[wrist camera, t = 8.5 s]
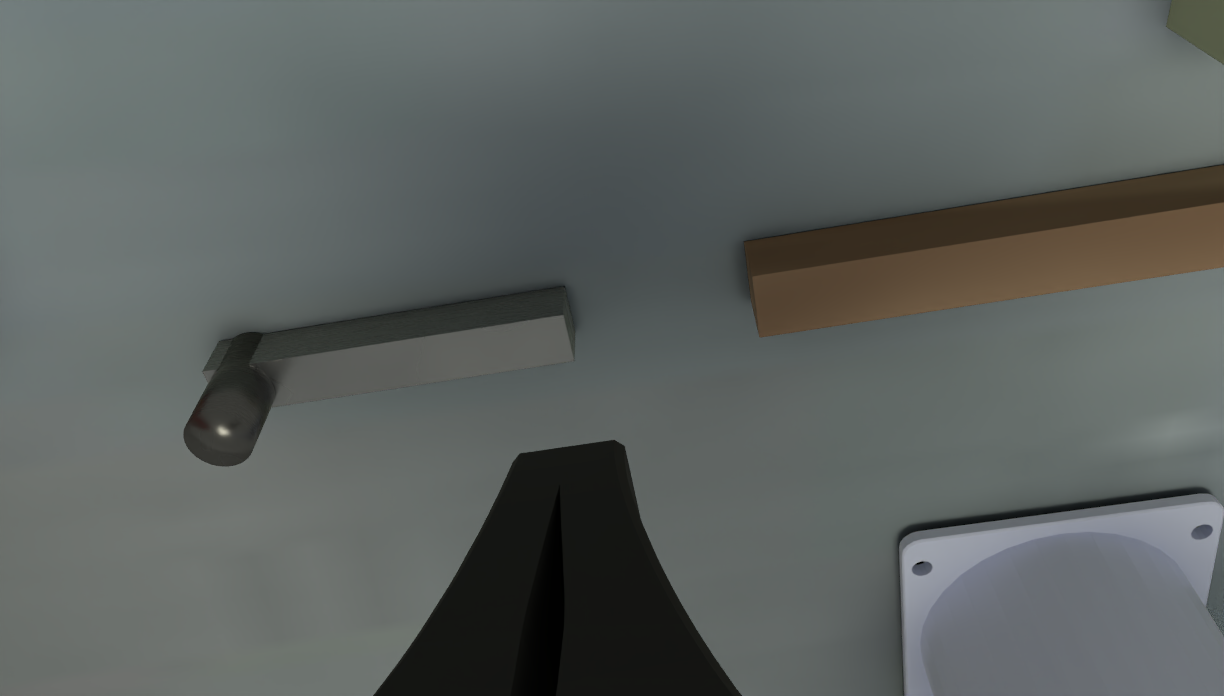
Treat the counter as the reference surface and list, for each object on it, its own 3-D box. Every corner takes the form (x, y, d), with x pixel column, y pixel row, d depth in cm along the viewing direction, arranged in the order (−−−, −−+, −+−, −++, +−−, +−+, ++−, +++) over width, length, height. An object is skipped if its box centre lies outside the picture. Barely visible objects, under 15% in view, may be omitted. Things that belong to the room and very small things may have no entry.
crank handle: (563, 282, 23) (559, 359, 21) (576, 334, 24) (573, 415, 21) (217, 337, 24) (172, 418, 21) (240, 386, 25) (199, 470, 22)
